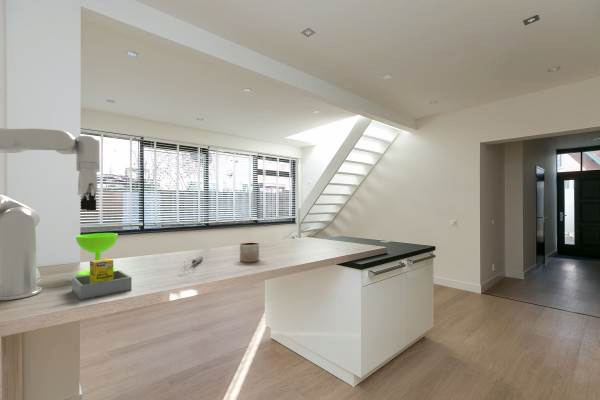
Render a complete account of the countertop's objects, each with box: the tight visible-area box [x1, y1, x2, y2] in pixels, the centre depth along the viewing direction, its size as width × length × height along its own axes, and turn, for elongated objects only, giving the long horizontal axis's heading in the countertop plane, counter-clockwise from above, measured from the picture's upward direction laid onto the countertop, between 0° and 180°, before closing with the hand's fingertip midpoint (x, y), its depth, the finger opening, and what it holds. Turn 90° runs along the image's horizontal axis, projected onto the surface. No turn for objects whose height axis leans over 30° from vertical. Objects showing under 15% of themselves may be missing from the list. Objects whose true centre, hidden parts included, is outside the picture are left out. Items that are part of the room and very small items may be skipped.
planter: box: [239, 241, 260, 263], centre depth 163 cm, size 11×11×10 cm
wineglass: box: [75, 232, 119, 277], centre depth 134 cm, size 16×16×18 cm
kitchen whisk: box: [180, 255, 204, 274], centre depth 149 cm, size 6×34×6 cm, turn 7°
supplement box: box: [89, 258, 114, 284], centre depth 109 cm, size 6×6×11 cm
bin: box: [71, 269, 132, 301], centre depth 109 cm, size 16×16×5 cm
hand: (88, 210), depth 116 cm, fingers open, 9 cm apart
